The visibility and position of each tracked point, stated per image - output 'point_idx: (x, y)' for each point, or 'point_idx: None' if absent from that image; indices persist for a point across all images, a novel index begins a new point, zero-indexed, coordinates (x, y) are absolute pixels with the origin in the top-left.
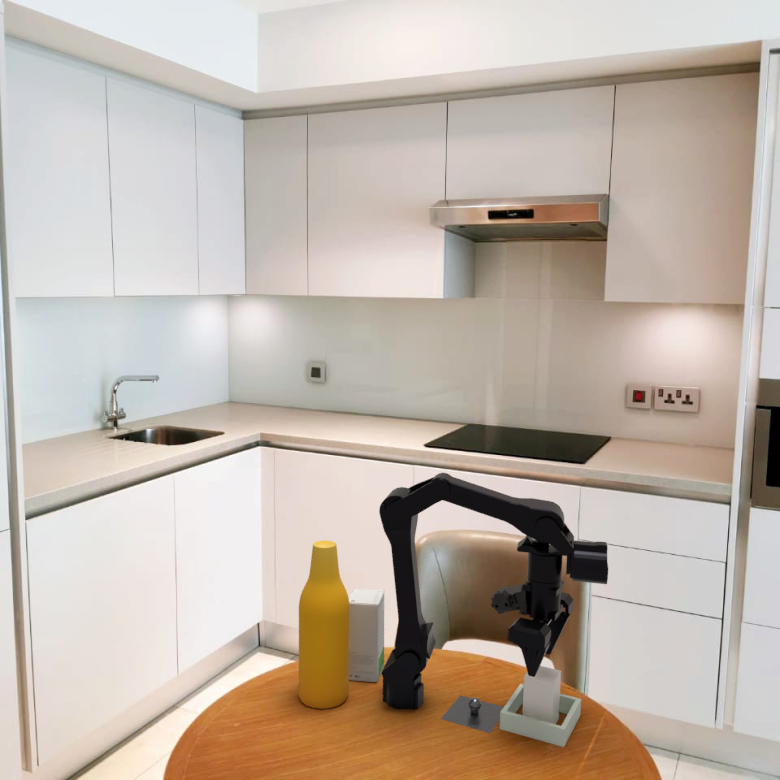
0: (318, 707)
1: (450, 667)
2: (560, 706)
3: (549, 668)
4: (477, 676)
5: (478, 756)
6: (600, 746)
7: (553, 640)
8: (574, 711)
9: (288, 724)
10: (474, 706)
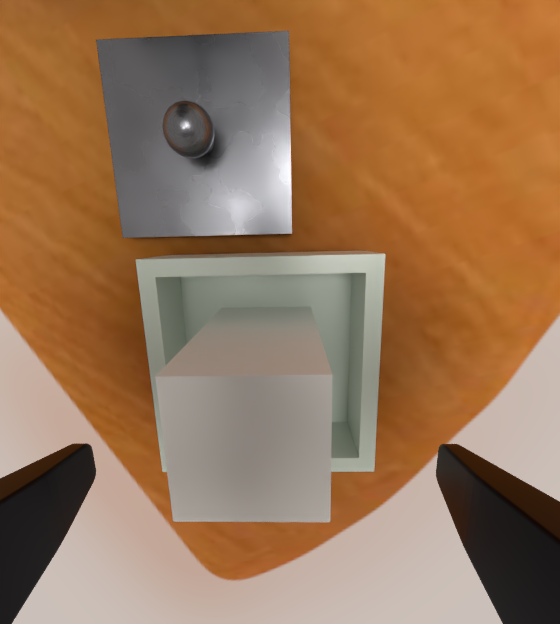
0: None
1: None
2: (352, 393)
3: (323, 468)
4: (499, 23)
5: (35, 242)
6: None
7: (513, 610)
8: None
9: None
10: (165, 138)
